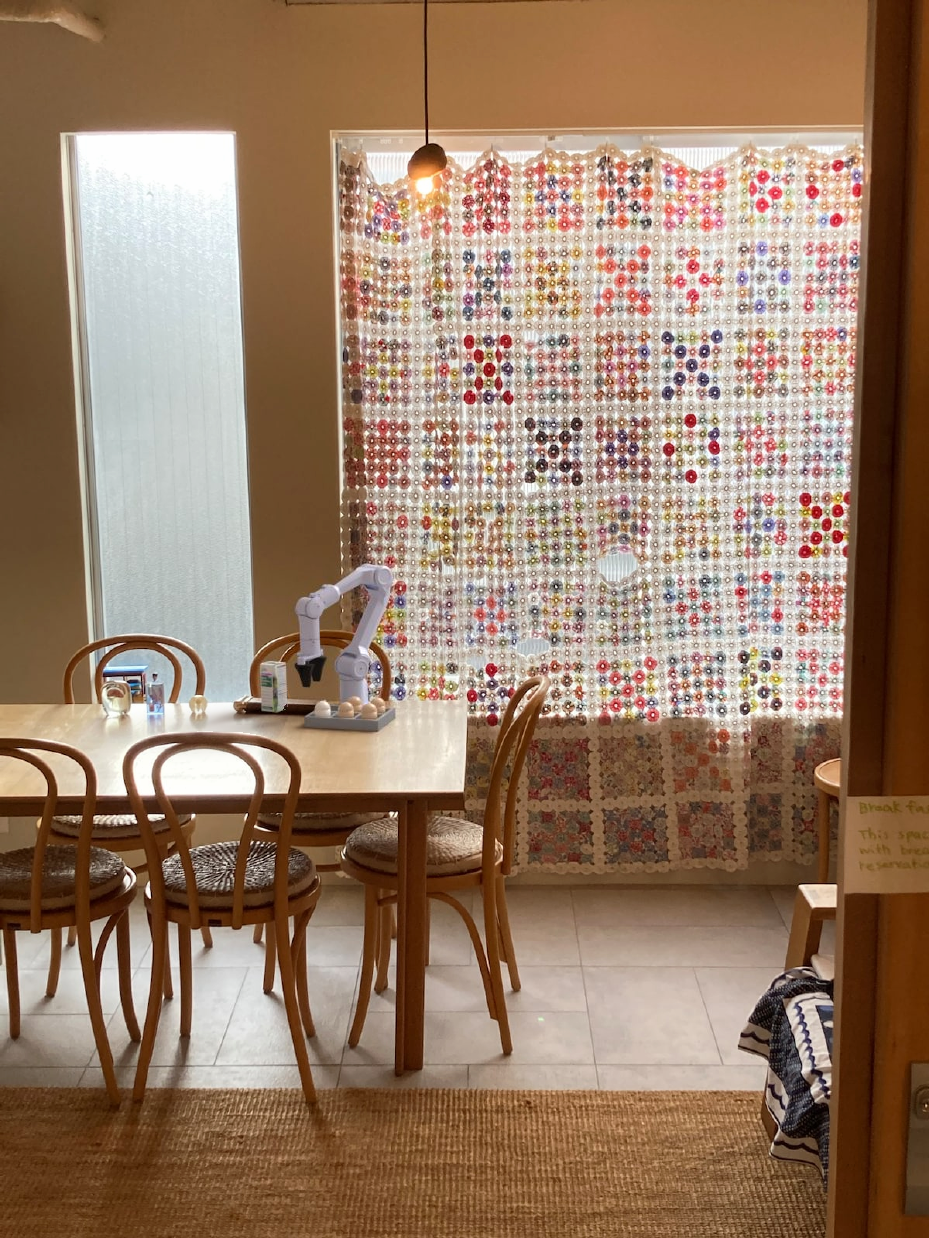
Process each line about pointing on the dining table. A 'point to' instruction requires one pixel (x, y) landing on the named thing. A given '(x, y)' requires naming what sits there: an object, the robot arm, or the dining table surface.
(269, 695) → the syrup box
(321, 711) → the white egg
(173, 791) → the dining table surface
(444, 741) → the dining table surface
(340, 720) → the egg carton
